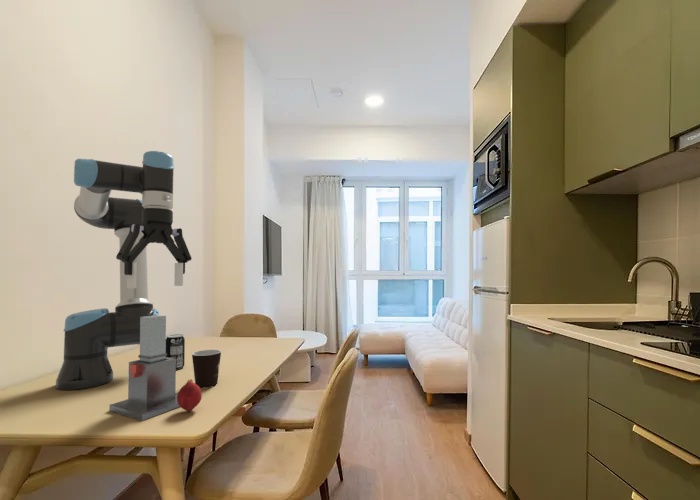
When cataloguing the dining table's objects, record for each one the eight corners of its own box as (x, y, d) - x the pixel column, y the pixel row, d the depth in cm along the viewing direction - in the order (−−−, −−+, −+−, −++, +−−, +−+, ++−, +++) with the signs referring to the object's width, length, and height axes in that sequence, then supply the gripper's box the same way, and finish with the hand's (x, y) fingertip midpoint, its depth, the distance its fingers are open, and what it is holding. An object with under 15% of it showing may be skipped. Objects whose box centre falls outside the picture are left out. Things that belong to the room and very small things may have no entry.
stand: (109, 410, 95) (110, 363, 96) (160, 394, 107) (160, 352, 108) (141, 420, 88) (142, 369, 89) (192, 402, 101) (192, 357, 101)
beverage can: (171, 365, 141) (172, 334, 141) (188, 366, 140) (188, 334, 140) (160, 370, 134) (161, 337, 135) (177, 370, 133) (177, 337, 134)
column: (137, 401, 97) (138, 317, 98) (155, 396, 101) (156, 315, 103) (148, 404, 95) (150, 318, 96) (166, 398, 99) (167, 315, 100)
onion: (200, 414, 92) (200, 381, 92) (175, 417, 90) (175, 383, 91) (202, 406, 98) (202, 375, 98) (178, 408, 96) (179, 377, 96)
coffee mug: (211, 389, 111) (211, 356, 112) (185, 388, 113) (185, 355, 113) (231, 378, 123) (231, 348, 123) (207, 377, 124) (207, 347, 125)
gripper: (119, 200, 89) (117, 289, 87) (204, 213, 110) (203, 285, 109) (101, 203, 92) (99, 289, 91) (187, 215, 114) (186, 284, 113)
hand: (156, 287), depth 100 cm, fingers open, 13 cm apart
